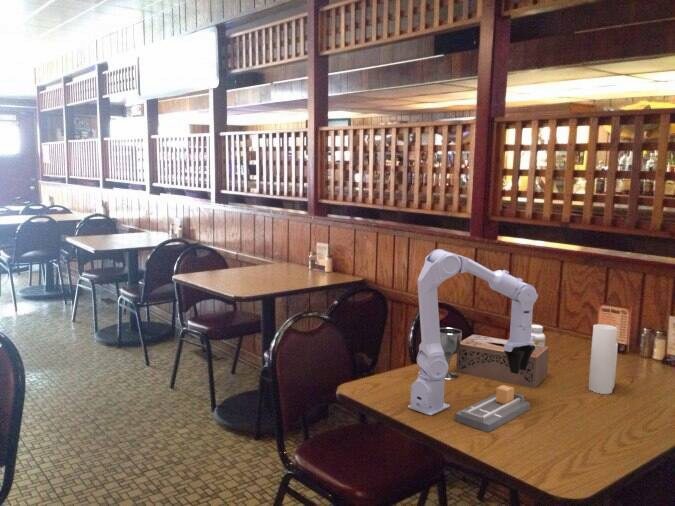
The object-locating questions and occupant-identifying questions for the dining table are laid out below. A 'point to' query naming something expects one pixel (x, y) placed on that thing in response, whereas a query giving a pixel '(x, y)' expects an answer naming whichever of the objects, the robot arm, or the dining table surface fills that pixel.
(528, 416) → the dining table surface
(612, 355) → the candle
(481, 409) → the grey flat railed block
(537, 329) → the supplement bottle
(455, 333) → the wine glass
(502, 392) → the fader tab
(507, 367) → the tissue box cover
